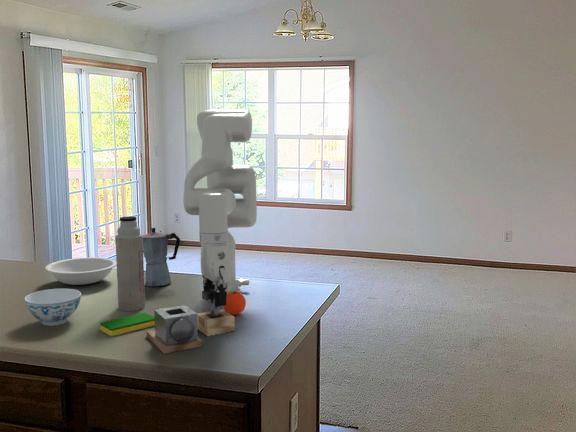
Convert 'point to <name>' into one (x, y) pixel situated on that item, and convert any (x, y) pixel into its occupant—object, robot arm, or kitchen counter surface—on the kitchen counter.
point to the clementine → (234, 303)
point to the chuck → (176, 325)
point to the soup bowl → (81, 270)
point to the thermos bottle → (130, 265)
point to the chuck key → (212, 302)
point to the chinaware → (53, 305)
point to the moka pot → (157, 257)
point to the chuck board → (172, 347)
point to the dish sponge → (127, 324)
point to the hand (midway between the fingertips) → (214, 301)
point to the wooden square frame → (215, 323)
